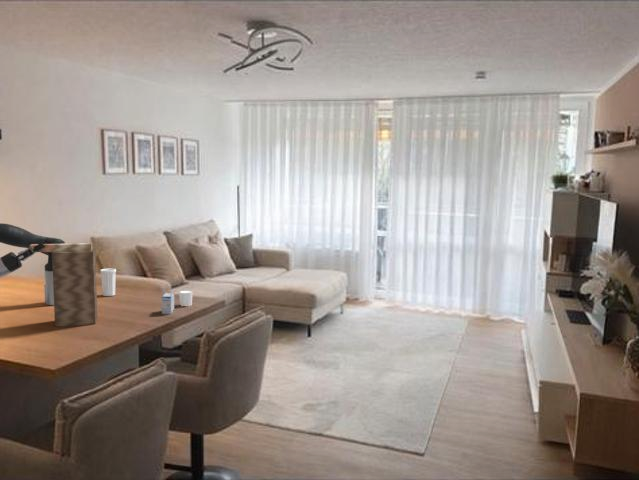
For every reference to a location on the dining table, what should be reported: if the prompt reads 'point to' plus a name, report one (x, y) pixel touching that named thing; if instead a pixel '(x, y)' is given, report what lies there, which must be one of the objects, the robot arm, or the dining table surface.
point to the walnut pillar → (74, 288)
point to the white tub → (185, 298)
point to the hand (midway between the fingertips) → (44, 244)
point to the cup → (108, 281)
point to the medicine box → (167, 303)
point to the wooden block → (64, 247)
